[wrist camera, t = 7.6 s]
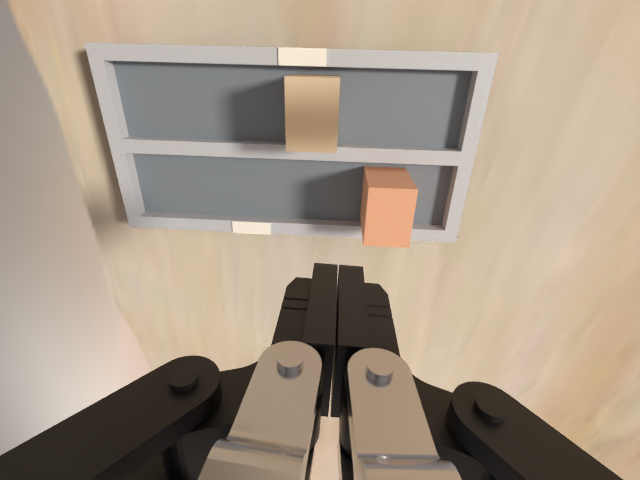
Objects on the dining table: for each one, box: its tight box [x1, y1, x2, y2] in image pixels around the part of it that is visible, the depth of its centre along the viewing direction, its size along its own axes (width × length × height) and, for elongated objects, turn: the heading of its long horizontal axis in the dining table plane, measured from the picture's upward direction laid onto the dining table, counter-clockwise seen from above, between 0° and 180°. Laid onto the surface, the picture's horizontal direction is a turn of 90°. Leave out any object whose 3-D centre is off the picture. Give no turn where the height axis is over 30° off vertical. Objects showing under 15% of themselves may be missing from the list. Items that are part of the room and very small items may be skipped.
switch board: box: [84, 42, 498, 243], centre depth 26 cm, size 13×26×2 cm, turn 89°
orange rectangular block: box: [360, 166, 418, 248], centre depth 24 cm, size 4×3×5 cm
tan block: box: [284, 74, 341, 153], centre depth 22 cm, size 4×3×5 cm
